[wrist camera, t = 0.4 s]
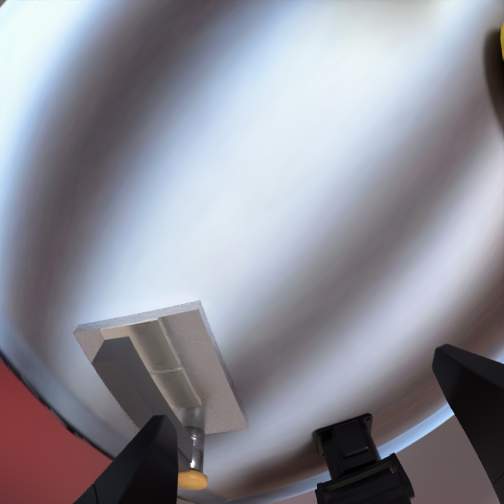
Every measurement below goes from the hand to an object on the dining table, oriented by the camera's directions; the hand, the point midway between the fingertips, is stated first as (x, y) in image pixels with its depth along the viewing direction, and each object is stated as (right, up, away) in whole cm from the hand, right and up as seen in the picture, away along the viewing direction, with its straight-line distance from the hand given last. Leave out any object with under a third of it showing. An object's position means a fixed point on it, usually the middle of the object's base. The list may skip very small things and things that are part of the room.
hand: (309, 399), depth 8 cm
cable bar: (-9, -8, +11) cm, 17 cm away
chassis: (-9, -7, +15) cm, 18 cm away
